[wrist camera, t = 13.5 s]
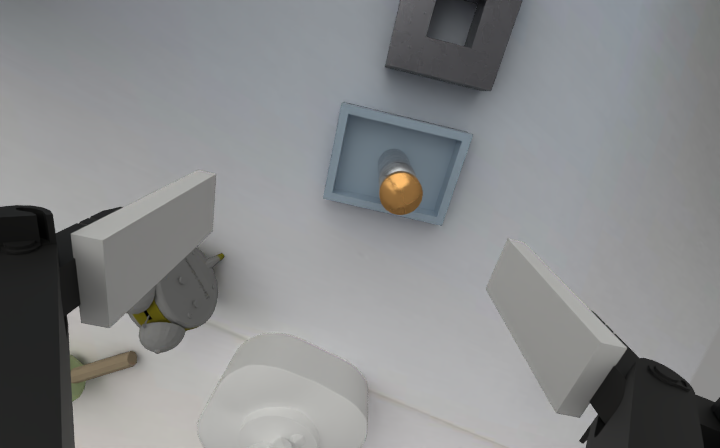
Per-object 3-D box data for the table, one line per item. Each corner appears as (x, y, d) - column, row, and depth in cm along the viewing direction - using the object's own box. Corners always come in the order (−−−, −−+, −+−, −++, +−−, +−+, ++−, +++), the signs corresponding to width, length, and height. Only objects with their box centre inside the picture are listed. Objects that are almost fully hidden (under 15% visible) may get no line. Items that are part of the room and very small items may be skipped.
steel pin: (382, 145, 43) (385, 168, 30) (412, 152, 44) (428, 178, 31) (374, 175, 45) (374, 209, 32) (404, 182, 45) (415, 219, 32)
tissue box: (256, 315, 55) (212, 399, 40) (386, 378, 59) (390, 477, 44) (203, 408, 64) (150, 506, 49) (320, 458, 67) (304, 564, 52)
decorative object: (116, 327, 56) (-39, 373, 55) (113, 389, 52) (-55, 440, 50) (149, 335, 64) (15, 375, 62) (149, 389, 60) (5, 434, 58)
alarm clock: (166, 233, 50) (85, 288, 36) (206, 220, 49) (139, 271, 35) (204, 297, 54) (144, 369, 40) (242, 286, 53) (194, 356, 39)
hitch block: (384, 66, 41) (385, 64, 37) (412, -54, 36) (417, -71, 32) (480, 90, 41) (491, 90, 37) (519, -26, 37) (535, -39, 33)
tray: (326, 192, 47) (323, 198, 44) (343, 102, 42) (341, 102, 39) (437, 217, 47) (441, 225, 44) (466, 131, 43) (473, 134, 40)
